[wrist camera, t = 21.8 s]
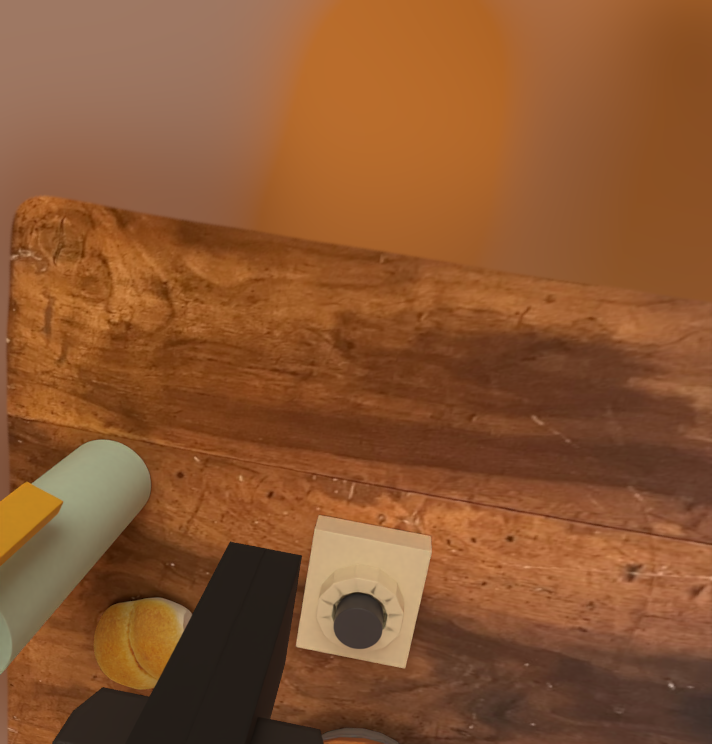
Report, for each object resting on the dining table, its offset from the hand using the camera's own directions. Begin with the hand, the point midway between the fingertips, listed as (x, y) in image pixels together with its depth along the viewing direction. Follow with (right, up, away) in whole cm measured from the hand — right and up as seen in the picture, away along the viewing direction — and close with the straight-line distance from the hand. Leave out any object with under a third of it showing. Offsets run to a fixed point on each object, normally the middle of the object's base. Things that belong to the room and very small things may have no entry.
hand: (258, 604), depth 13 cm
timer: (+3, -12, +37) cm, 39 cm away
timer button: (+2, -13, +34) cm, 36 cm away
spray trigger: (-16, -2, +22) cm, 28 cm away
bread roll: (-15, -18, +41) cm, 47 cm away
